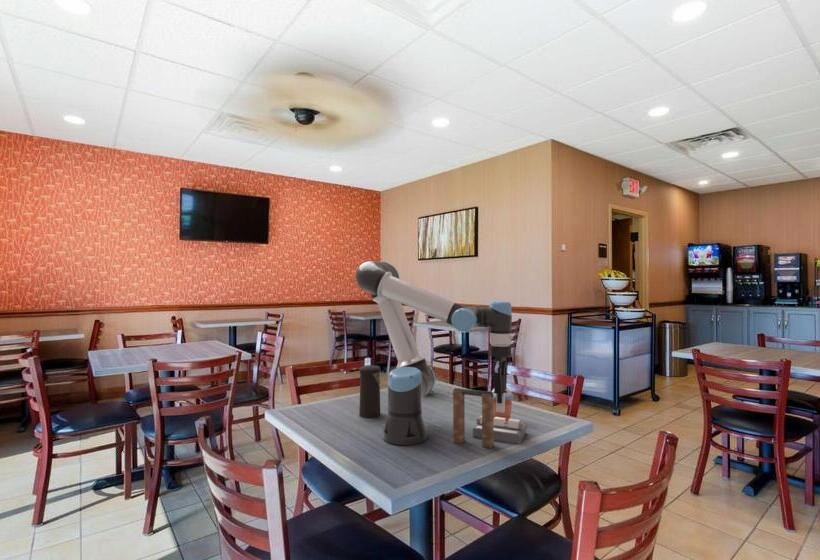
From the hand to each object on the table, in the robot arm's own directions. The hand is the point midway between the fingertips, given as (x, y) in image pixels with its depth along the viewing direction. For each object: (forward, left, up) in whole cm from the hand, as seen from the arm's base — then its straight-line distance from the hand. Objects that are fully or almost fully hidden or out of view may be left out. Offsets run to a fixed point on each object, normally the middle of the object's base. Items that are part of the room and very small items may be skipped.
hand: (500, 411), depth 152 cm
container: (-54, +1, -8) cm, 55 cm away
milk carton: (-52, +43, -8) cm, 68 cm away
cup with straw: (-3, +15, -8) cm, 17 cm away
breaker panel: (0, 0, -8) cm, 8 cm away
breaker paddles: (0, 0, -5) cm, 5 cm away
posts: (-6, -12, -8) cm, 16 cm away
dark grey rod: (-6, -12, +8) cm, 16 cm away
